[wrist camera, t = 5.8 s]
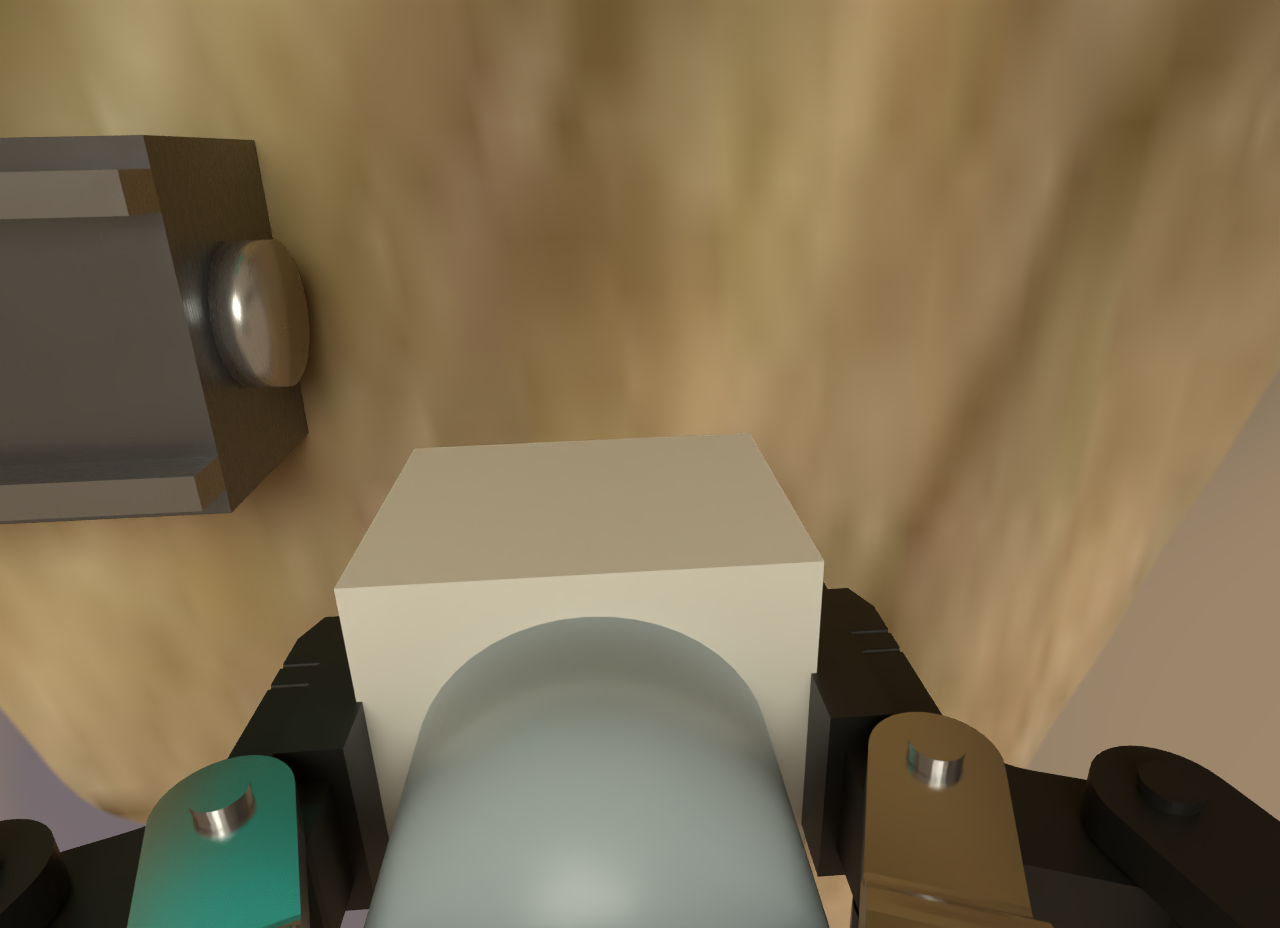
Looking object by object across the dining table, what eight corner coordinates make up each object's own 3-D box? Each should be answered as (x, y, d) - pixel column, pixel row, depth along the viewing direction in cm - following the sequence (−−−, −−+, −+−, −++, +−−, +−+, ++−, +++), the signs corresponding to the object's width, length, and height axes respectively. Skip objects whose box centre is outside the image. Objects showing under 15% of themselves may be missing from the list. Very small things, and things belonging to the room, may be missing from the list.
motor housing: (291, 139, 25) (164, 132, 17) (341, 431, 29) (254, 533, 21) (-141, 148, 24) (-480, 145, 17) (-33, 447, 28) (-269, 560, 20)
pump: (749, 432, 12) (948, 776, 5) (742, 702, 14) (883, 1198, 7) (414, 449, 12) (195, 828, 5) (453, 720, 13) (331, 1252, 7)
